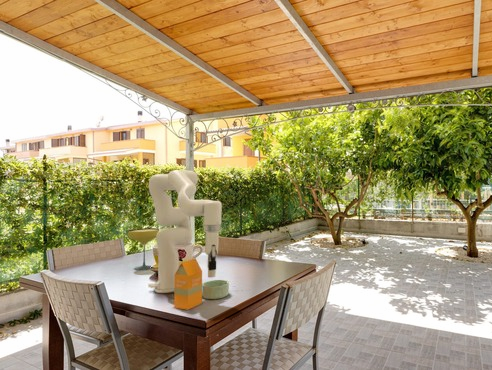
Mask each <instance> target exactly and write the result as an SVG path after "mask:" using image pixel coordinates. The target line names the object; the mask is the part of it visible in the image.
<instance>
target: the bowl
mask: <svg viewBox="0 0 492 370" xmlns="http://www.w3.org/2000/svg"><path fill="white" fill-rule="evenodd" d="M229 294H230V282H229V281H228V280H225V279H212V280H208V281H206V282H202V298H204V299H206V300H207V299H208V300H219V299H223V298H225V297H227V296H228V295H229Z"/></svg>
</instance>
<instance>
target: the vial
mask: <svg viewBox="0 0 492 370" xmlns="http://www.w3.org/2000/svg"><path fill="white" fill-rule="evenodd" d="M216 270H217V269H216ZM216 270H209V257H208V256H207V277H208V278H215V277H216V275H217V274H216V273H217V272H216Z"/></svg>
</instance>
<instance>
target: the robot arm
mask: <svg viewBox="0 0 492 370" xmlns="http://www.w3.org/2000/svg"><path fill="white" fill-rule="evenodd" d="M198 182H199V177H198V174H197V173H196V172H195V171H194V170H188V169H187V170H186V169H174V170H171V171H169V173H158V174H154V175H152V176H151V177H150V178H149V180H148V191H149V194H150V196H151V199H152V201H153V205H154V206H153V207H154V212H155V217H156V218H155V219H156V221H157V224H158V225H159V226H160V227H167V228H163V229H159V230H160V231H159V232H158V233H157V236H156V238H155V239H156V244H157V253H158V258H157V260H158V262H157V263H158V264H157V265H158V269H157V275H158V277H157V279H158V280H157V281H155V282H151V283H148V284H147V286H148V287H147V288H150V289H154V292H155V293H157V294H169V293H174V288H175V273H176V272H177V270H178V268H179V266H180V254H179V252H178V250H177V249H176V247H177V246H183V245H187V244H189V243H191V242H192V239H193V231H192V224H191V220H190V218H193V217H203V232H204V233H205V239H204V240H205V244H204V253H205V254H206V256H207V258H208V257H209V270H217V255H218V253H219V245H220V244H219V242H220V241H219V239H220V236H219V233H220V232H222V220H223V219H222V213H223V211H222V210H223V203H222V202H221V201H219V200H212V199H190V198H191V197H193V196H194V195H195V194H196V192H197V186H196V185H197V184H198ZM166 191H176V192H177V194H178V195H177V205H178V207H174V206H173V201H172V198H171V196H170V195H169V194H168V193H167V192H166ZM171 226H172V227H171ZM173 226H175V227H173ZM176 226H177V227H176Z"/></svg>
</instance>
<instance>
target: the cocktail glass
mask: <svg viewBox="0 0 492 370" xmlns="http://www.w3.org/2000/svg"><path fill="white" fill-rule="evenodd" d="M160 230H161V229H160V228H155V227H153V228H151V227H150V228H149V227H148V228H134V229H129V230H128V233H127V234H128V235H127V236H128V238H130V239H131V240H133V241H135V242H138V243H140V244H141V246H143V262H142V265H140V266H136V267H135V268H134V270H136V271H146V270H150V269H149V268H150V267H151V266H152V265H146V248H145V247H146V246H147V244H148V243H149V242H151V241H153V240H155V239H156V236H157V233H158V232H159V231H160Z"/></svg>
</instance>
